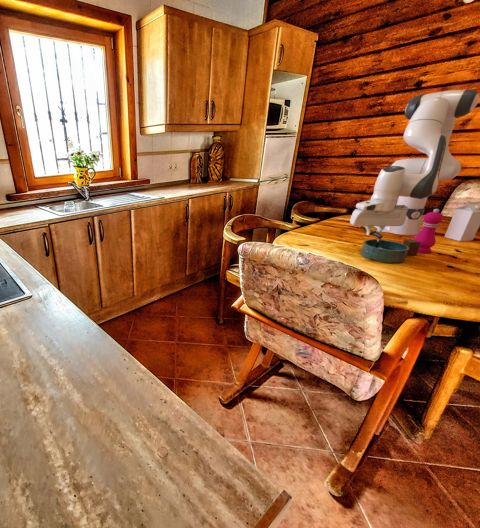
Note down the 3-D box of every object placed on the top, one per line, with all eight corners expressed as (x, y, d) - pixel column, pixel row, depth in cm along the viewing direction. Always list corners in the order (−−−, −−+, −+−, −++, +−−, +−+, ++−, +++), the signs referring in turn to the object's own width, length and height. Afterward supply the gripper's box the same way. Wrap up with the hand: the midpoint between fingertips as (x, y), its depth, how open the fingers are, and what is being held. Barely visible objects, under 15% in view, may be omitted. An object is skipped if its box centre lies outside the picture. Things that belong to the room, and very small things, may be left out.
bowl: (353, 251, 134) (356, 239, 132) (389, 251, 131) (393, 239, 129) (372, 263, 120) (377, 250, 118) (413, 264, 117) (418, 251, 115)
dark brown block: (399, 252, 130) (404, 239, 127) (409, 252, 129) (414, 239, 126) (405, 255, 126) (410, 242, 123) (415, 255, 125) (421, 242, 123)
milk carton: (443, 237, 145) (459, 200, 137) (456, 236, 145) (472, 200, 138) (459, 241, 138) (476, 203, 131) (472, 240, 139) (490, 202, 131)
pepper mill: (422, 248, 133) (438, 206, 125) (435, 253, 126) (454, 210, 118) (405, 248, 134) (420, 207, 126) (418, 253, 127) (435, 210, 119)
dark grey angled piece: (351, 241, 140) (355, 225, 137) (361, 241, 139) (366, 225, 136) (372, 253, 124) (378, 236, 121) (384, 253, 123) (390, 236, 120)
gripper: (403, 203, 124) (393, 233, 129) (352, 204, 127) (344, 232, 133) (414, 206, 118) (403, 237, 123) (360, 206, 122) (351, 236, 127)
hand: (372, 235), depth 128 cm, fingers closed on dark grey angled piece
